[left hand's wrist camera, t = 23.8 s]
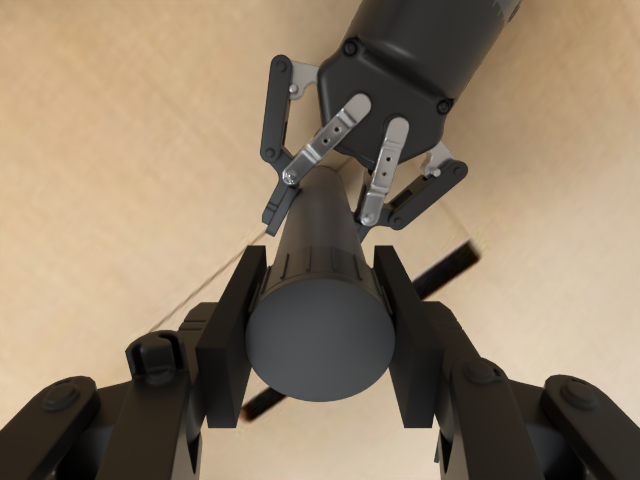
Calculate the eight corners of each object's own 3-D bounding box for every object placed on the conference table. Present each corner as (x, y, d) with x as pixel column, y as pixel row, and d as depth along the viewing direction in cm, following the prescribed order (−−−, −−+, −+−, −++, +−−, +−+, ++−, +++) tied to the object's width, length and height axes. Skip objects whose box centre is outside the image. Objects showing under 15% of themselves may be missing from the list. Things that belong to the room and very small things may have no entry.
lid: (326, 373, 14) (327, 425, 12) (229, 307, 13) (210, 350, 10) (411, 298, 13) (431, 339, 10) (312, 216, 11) (311, 243, 9)
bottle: (347, 208, 30) (389, 368, 12) (301, 216, 30) (273, 385, 12) (339, 162, 28) (374, 263, 10) (291, 170, 29) (243, 285, 11)
